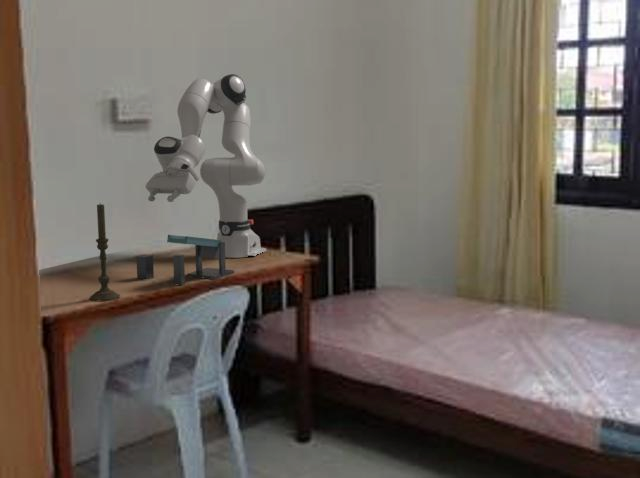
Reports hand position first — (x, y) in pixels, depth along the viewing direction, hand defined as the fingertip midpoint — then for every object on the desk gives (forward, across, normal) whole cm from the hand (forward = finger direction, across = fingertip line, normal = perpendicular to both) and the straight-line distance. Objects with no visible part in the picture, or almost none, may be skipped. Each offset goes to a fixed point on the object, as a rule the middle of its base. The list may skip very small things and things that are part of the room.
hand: (159, 200), depth 289 cm
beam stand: (+18, +17, +19) cm, 32 cm away
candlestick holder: (+46, +13, -7) cm, 49 cm away
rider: (+26, +2, +12) cm, 28 cm away
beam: (+14, +18, +12) cm, 26 cm away
